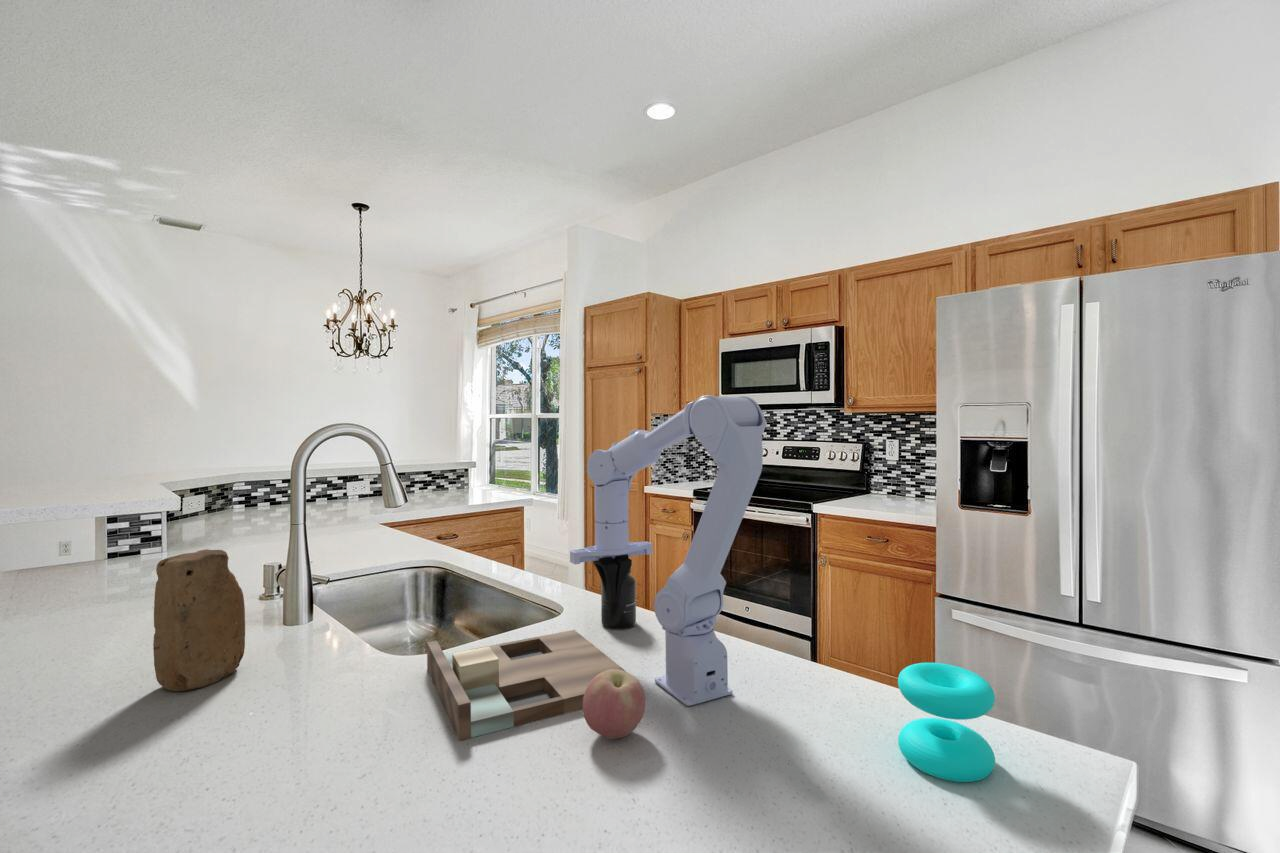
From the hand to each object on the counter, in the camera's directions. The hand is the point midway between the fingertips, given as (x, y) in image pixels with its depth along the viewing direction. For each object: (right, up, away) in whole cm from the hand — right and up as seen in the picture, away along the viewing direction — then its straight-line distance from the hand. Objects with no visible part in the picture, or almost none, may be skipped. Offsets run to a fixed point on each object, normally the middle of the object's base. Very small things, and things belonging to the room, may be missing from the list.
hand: (612, 601), depth 101 cm
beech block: (-20, -8, -13) cm, 25 cm away
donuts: (+40, -10, -32) cm, 52 cm away
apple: (+1, -10, -25) cm, 27 cm away
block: (-64, -10, -7) cm, 65 cm away
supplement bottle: (0, -10, +16) cm, 19 cm away
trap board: (-12, -10, -9) cm, 18 cm away
